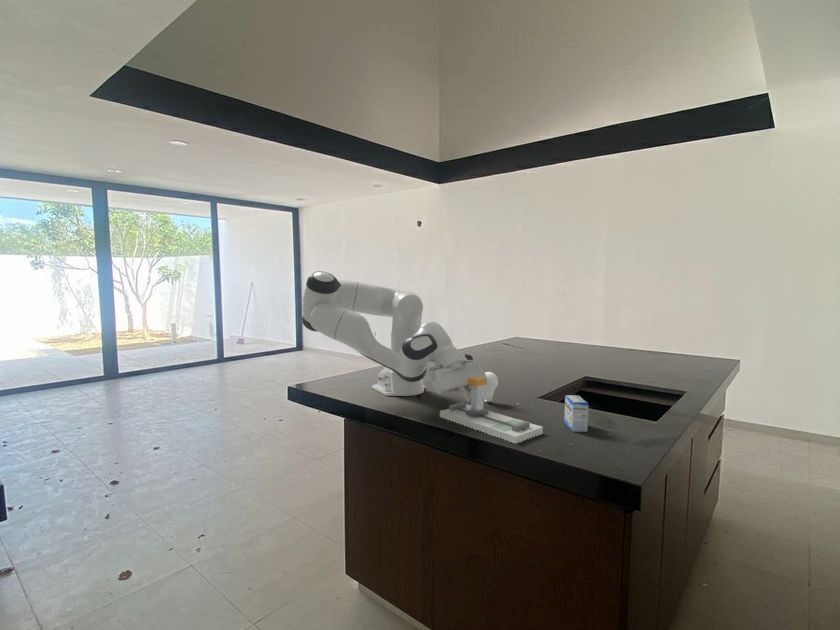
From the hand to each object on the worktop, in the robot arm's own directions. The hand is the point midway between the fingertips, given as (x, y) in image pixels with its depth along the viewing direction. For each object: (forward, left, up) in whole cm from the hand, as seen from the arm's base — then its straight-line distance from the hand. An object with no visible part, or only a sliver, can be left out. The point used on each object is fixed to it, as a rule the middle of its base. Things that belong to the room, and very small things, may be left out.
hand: (472, 400), depth 136 cm
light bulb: (-10, +18, -6) cm, 22 cm away
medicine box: (+24, +18, -7) cm, 31 cm away
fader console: (+6, 0, -6) cm, 9 cm away
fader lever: (+2, 0, -4) cm, 4 cm away
